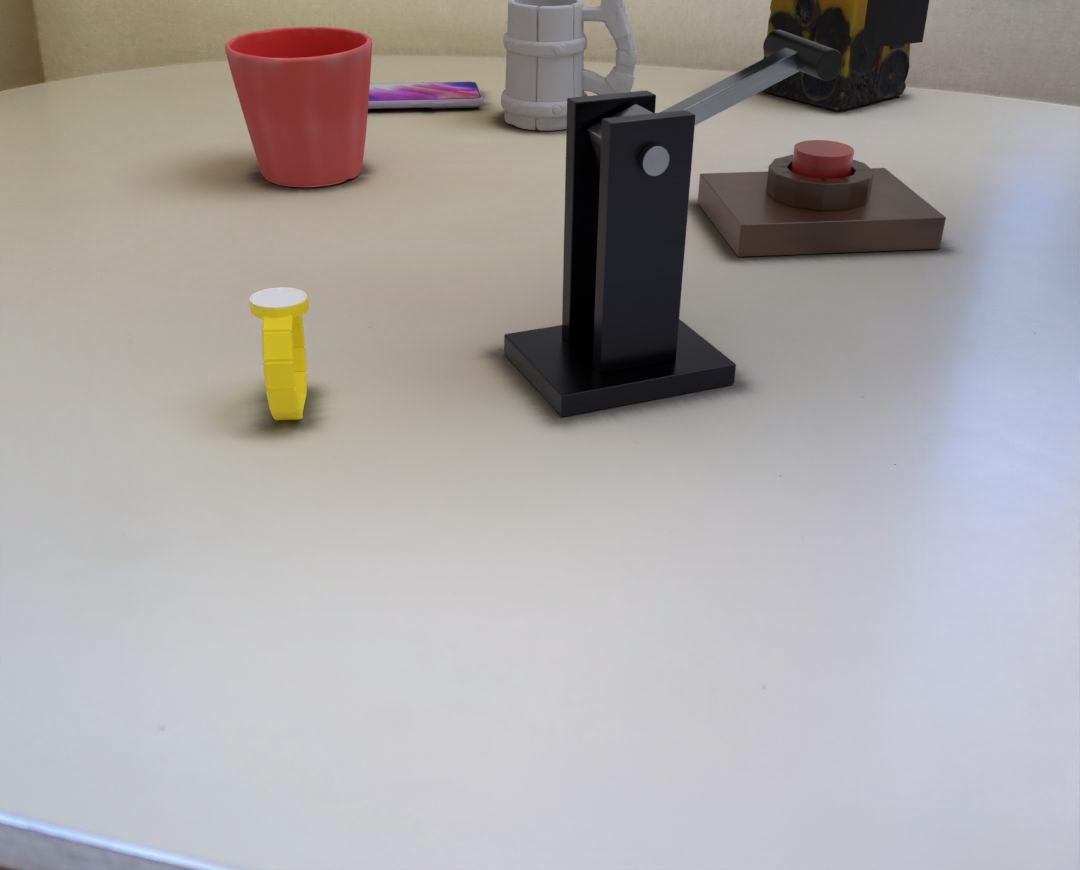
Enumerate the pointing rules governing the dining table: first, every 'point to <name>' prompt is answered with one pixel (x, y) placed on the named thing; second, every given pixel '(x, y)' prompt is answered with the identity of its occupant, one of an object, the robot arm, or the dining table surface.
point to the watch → (283, 349)
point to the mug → (559, 59)
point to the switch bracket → (622, 266)
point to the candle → (838, 22)
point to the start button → (822, 159)
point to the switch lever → (749, 79)
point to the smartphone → (425, 95)
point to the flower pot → (304, 101)
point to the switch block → (817, 212)
